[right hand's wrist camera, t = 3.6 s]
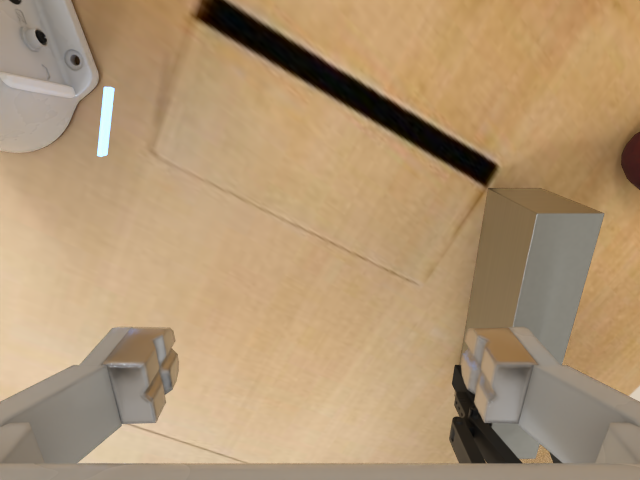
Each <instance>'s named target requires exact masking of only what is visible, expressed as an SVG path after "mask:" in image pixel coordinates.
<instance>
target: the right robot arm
mask: <svg viewBox="0 0 640 480" xmlns="http://www.w3.org/2000/svg"><path fill="white" fill-rule="evenodd" d="M76 56H78V57H79V59H80V64H79V65H77V64H76V62H75V58H76ZM98 81H99V74H98V70H97V67H96V65H95V62H94V59H93V57H92V54H91V51H90V49H89V46H88V43H87V41H86V38H85V35H84V33H83V30H82V27H81V25H80V22H79V20H78V17H77V14H76V12H75V9H74V6H73V4H72V1H71V0H0V151H4V152H11V153H25V152H31V151H36V150H39V149H42V148H44V147H46V146H48V145H49V144H51V143H53V142H54V141H55V140H56V139H57V138H59V137H60V135H61V134H62V133H63V132H64V131H65V129H66V128H67V126H68V124H69V122H70V120H71V118H72V116H73V113H74V111H75V108H76V106H77V104H78V103H79V101H80V100H81V99H83V98H84V97H85V96H86V95H88V94H89V93H90V92H91V91H92V90H93V89H94V88H95V87H96V85H97V84H98ZM113 96H114V88H112V87H104V92H103V102H102V113H101V123H100V133H99V143H98V153H97V156H100V157H102V156H105V155H107V152H108V143H109V133H110V124H111V115H112V106H113ZM174 342H175V337H174V332H173V330H172V329H171V328H157V327H115V328H112V329H111V330H110V331H109V332H108V334H107V335H106V336H105V337H104V338H103V339H102V340H101V341H100V343H99V344H98V345H97V346H96V347H95V348H94V349H93V350H92V351H91V353H90V354H89V355H88V356H87V357H86V358H85V359H84V360H83V362H82V363H81V364H80V365H73V366H71V367H69V368H67V369H65V370H63V371H61V372H59V373H57V374H55V375H53V376H51V377H49V378H47V379H45V380H43V381H41V382H39V383H37V384H35V385H33V386H31V387H29V388H27V389H25V390H23V391H21V392H19V393H17V394H15V395H13V396H11V397H9V398H7V399H5V400H3V401H1V402H0V480H640V402H639V401H637V400H635V399H633V398H631V397H629V396H627V395H625V394H623V393H621V392H619V391H617V390H615V389H613V388H611V387H609V386H607V385H605V384H603V383H601V382H599V381H597V380H595V379H593V378H591V377H589V376H587V375H585V374H583V373H581V372H579V371H577V370H575V369H573V368H571V367H569V366H567V365H560V364H559V363H558V362H557V360H556V359H555V358H554V357H553V356H552V355H551V354H550V353H549V351H548V350H547V349H546V348H545V347H544V346H543V345H542V344H541V342H540V341H539V340H538V339H537V338H536V337H535V336H534V335H533V334H532V332H531V331H530V330H529V329H528V328H525V327H505V328H468V330H467V332H466V336H465V342H466V344H467V346H468V349H467V350H466V351H465V352H464V353H463V354H462V361H461V370H462V377H463V380H464V383H465V385H466V387H467V389H468V390H469V391H470V392H472V393H473V394H475V400H474V403H475V405H476V407H477V409H478V411H479V413H480V415H481V417H482V419H483V421H484V423H505V424H518V426H519V427H521V428H522V429H523V430H524V431H525V432H527V433H528V434H529V435H530V436H531V437H532V438H534V439H535V440H536V441H537V442H538V443H540V444H541V445H542V446H543V447H544V448H546V449H547V450H548V451H549V452H550V453H551V454H553V455H554V456H555V457H556V458H557V459H559V460H560V461H561V462H562V463H530V464H500V463H265V464H119V463H78V462H79V461H80V460H81V459H83V458H84V457H85V456H86V455H87V454H89V453H90V452H91V451H92V450H93V449H95V448H96V447H97V446H98V445H99V444H101V443H102V442H103V441H104V440H105V439H106V438H108V437H109V436H110V435H111V434H112V433H114V432H115V431H116V430H117V429H118V428H120V427H121V426H122V424H134V423H156V421H157V419H158V417H159V415H160V413H161V411H162V409H163V407H164V405H165V403H166V400H165V394H167V393H168V392H170V391H171V390H172V389H173V387H174V385H175V383H176V381H177V376H178V371H179V360H178V354H177V353H176V352H175V351H174V350H173V349H172V346H173V344H174Z"/></svg>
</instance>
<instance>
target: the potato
mask: <svg viewBox="0 0 640 480" xmlns="http://www.w3.org/2000/svg"><path fill="white" fill-rule="evenodd" d="M621 165H622V168H623V170H624V172H625V175H626V177H627V179H628V180H629V181H630V182H631V183H632V184H633V185H635V186H636V187H637V188H638V189H639V190H640V132H639V133H637V134H636V135H634V137H633V138H632V139H631V140H630V141H629V142H628V143H627V144H626V147H625V149H624V151H623V153H622V160H621Z"/></svg>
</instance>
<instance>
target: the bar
mask: <svg viewBox="0 0 640 480" xmlns="http://www.w3.org/2000/svg"><path fill="white" fill-rule="evenodd" d="M603 217H604V213H602V212H600V211H597V210H595V209H592V208H590V207H587V206H584V205H582V204H579V203H577V202H574V201H572V200H569V199H567V198H564V197H562V196H559V195H557V194H554V193H552V192H549V191H547V190H544V189H542V188H488V192H487V198H486V204H485V211H484V217H483V223H482V229H481V235H480V241H479V247H478V254H477V260H476V266H475V272H474V278H473V284H472V290H471V297H470V303H469V309H468V315H467V321H466V327H465V333H464V340H463V346H462V352H461V358H460V364H459V365H461V361H462V354H463V353H464V352H465V351H466V350H467V349H468V346H467V344H466V342H465V336H466V332H467V330H468V328H505V327H525V328H528V329H529V330H530V331H531V332H532V334H533V335H534V336H535V337H536V338H537V339H538V340H539V341H540V342H541V344H542V345H543V346H544V347H545V348H546V349H547V350H548V351H549V353H550V354H551V355H552V356H553V357H554V358H555V359H556V360H557V362H558V363H559V364H560V365H562V362H563V359H564V355H565V352H566V348H567V345H568V341H569V338H570V334H571V331H572V327H573V323H574V320H575V316H576V313H577V309H578V306H579V302H580V299H581V295H582V291H583V288H584V284H585V281H586V277H587V274H588V270H589V267H590V263H591V259H592V256H593V252H594V249H595V245H596V242H597V238H598V235H599V231H600V227H601V224H602V220H603ZM454 396H456V391H455V395H454ZM488 424H489V425H490V426H491V427H492V429H493V430H494V431H495V432H496V433H497V434H498V435H499V437H500V438H501V439H502V440H503V441H504V442H505V444H506V445H507V446H508V447H509V448H510V449H511V450H512V452H513V453H514V454H515V455H516V456H517V457H518V459H535V458H536V455H537V451H538V448H539V444H540V443H538V442H537V441H536V440H535V439H534V438H532V437H531V436H530V435H529V434H528V433H527V432H525V431H524V430H523V429H522V428H521V427H519V426H518V424H505V423H488Z"/></svg>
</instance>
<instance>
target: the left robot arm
mask: <svg viewBox="0 0 640 480" xmlns="http://www.w3.org/2000/svg"><path fill="white" fill-rule="evenodd" d="M452 385H453V387H454V389H455V391H456V396H455V404H454V405H455V408H456V409H457V412H458V414H459V416H460V417H454V418H453V420H452V425H451V431H450V437H449V440H450V442H451V445H452V447H453V450H454V452H455V454H456V457H457V459H458V461H459V463H486V462H487V463H500V464H523V463H522V462H521V461H520V460H519V459H518V457H517V456H516V455H515V454H514V453H513V452H512V450H511V449H510V448H509V447H508V446H507V445H506V444H505V442H504V441H503V440H502V439H501V438H500V437H499V435H498V434H497V433H496V432H495V431H494V430H493V429H492V427H491V426H490V425H489V424H488V423H484V421H483V419H482V417H481V415H480V413H479V411H478V409H477V407H476V405H475V403H474V400H475V394H473V393H472V392H470V391H469V390H468V389H467V387H466V385H465V383H464V380H463V377H462V370H461V365H455V368H454V374H453V381H452ZM550 455H551V458H552V460H553V463H562V462H561V461H560V460H559V459H557V458H556V457H555V456H554V455H553V454H551V453H550ZM485 461H486V462H485Z"/></svg>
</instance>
